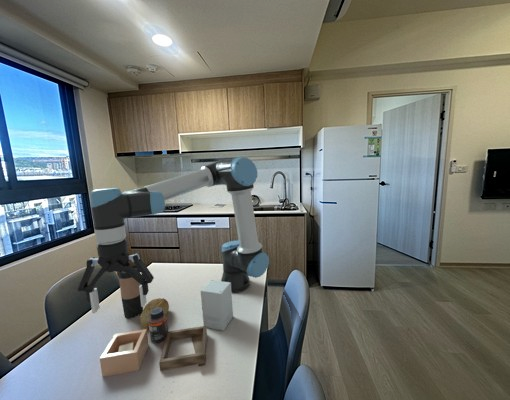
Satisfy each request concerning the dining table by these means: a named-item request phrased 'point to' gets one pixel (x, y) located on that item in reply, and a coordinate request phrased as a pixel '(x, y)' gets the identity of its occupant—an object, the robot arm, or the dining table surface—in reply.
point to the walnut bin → (181, 361)
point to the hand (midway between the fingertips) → (120, 307)
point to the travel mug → (130, 295)
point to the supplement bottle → (158, 325)
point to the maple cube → (126, 347)
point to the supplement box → (217, 304)
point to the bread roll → (149, 307)
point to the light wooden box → (124, 353)
